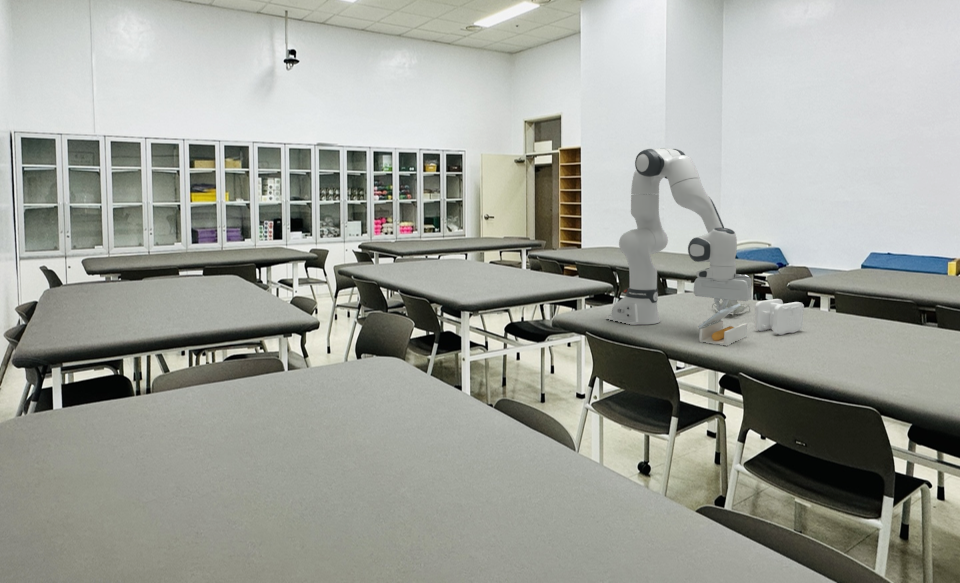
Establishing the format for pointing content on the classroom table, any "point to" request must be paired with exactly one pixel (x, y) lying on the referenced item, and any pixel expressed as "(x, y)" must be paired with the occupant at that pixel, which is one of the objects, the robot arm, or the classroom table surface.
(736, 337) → the duct
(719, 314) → the cover
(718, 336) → the rod
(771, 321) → the cable organizer
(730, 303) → the skeletal model
